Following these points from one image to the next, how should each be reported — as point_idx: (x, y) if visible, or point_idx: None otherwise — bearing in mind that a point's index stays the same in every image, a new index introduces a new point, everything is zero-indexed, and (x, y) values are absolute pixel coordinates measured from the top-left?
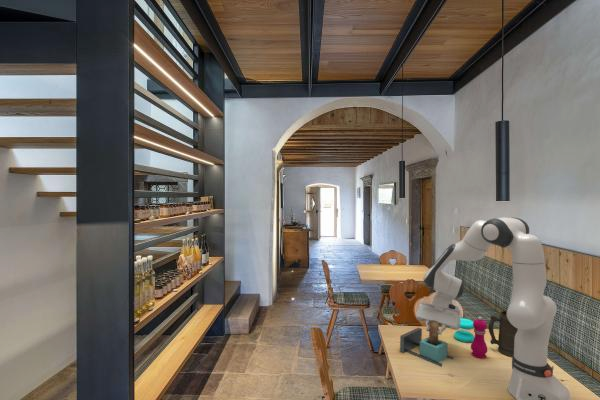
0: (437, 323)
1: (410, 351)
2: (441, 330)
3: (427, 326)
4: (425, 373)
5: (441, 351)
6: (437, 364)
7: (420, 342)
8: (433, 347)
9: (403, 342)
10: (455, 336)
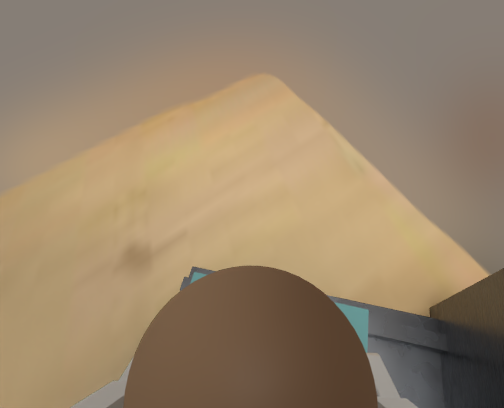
0: (151, 325)
1: (409, 330)
2: (121, 389)
3: (382, 391)
4: (246, 198)
5: None
6: None
7: (361, 310)
8: None
9: (483, 281)
10: None
